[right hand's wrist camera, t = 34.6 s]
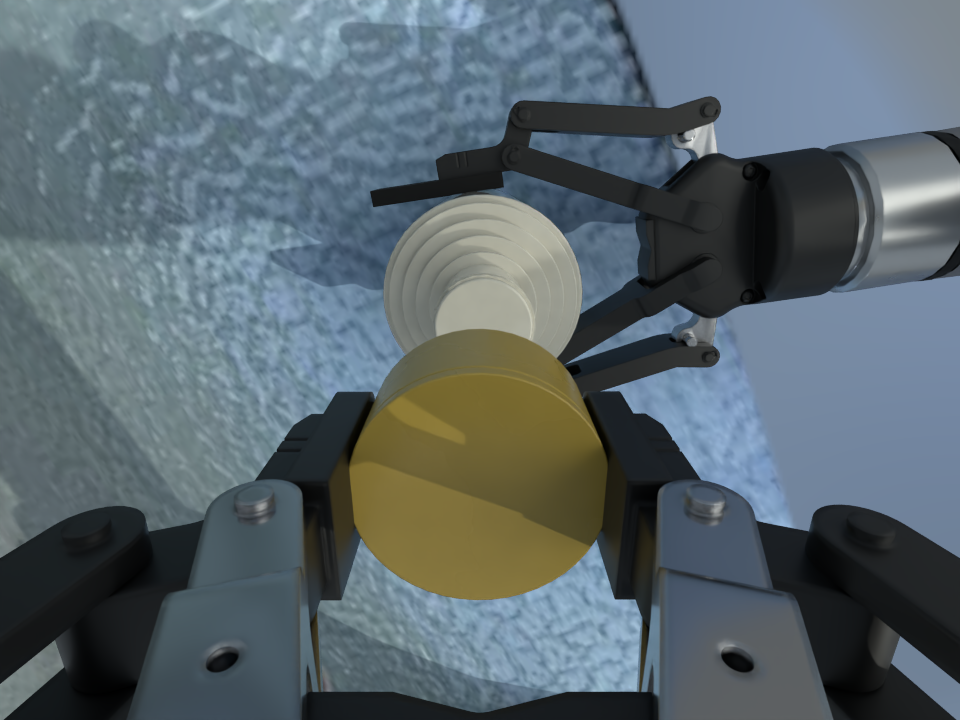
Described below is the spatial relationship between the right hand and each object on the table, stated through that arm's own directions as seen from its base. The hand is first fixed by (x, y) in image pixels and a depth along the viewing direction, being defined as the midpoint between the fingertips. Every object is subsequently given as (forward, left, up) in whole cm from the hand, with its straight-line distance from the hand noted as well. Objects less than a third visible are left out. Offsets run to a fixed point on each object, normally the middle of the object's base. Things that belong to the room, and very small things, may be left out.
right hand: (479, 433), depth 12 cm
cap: (0, 0, +2) cm, 2 cm away
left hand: (-2, -4, -19) cm, 19 cm away
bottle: (0, 0, -25) cm, 25 cm away
